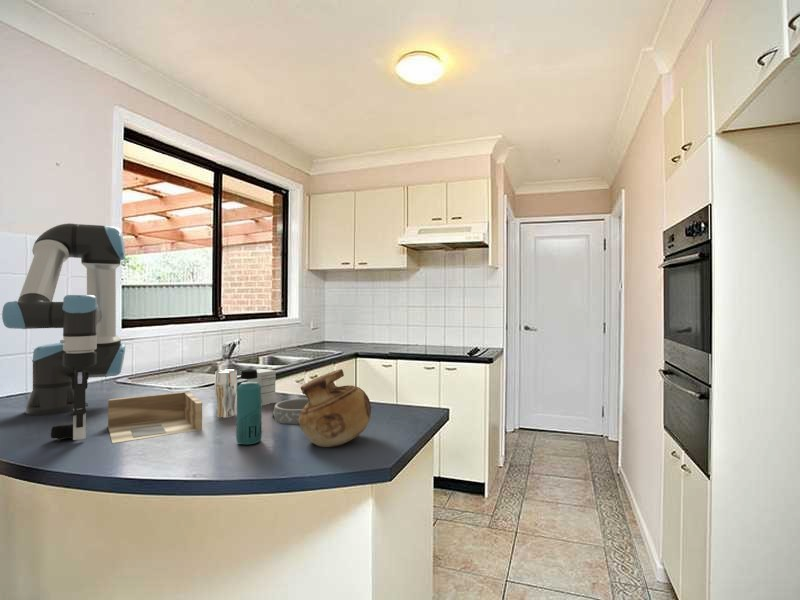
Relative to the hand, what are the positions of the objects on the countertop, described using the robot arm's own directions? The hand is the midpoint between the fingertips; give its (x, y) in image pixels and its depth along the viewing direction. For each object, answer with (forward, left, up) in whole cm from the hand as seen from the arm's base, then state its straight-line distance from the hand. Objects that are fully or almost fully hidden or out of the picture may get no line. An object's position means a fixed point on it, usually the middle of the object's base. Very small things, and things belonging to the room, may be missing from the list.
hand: (79, 434), depth 123 cm
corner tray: (+1, +18, -1) cm, 18 cm away
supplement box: (-12, +54, -1) cm, 55 cm away
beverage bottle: (+32, +36, -1) cm, 48 cm away
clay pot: (+44, +55, -1) cm, 71 cm away
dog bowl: (+14, +58, -2) cm, 60 cm away
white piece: (-2, +39, -1) cm, 39 cm away
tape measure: (+2, -1, -1) cm, 2 cm away
